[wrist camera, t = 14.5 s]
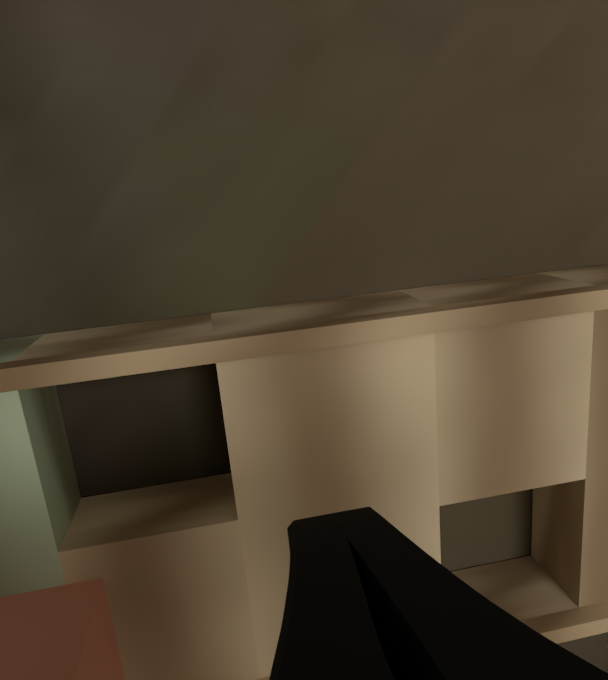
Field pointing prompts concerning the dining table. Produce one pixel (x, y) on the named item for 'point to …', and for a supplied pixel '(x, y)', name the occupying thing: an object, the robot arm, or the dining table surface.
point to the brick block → (59, 634)
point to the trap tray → (323, 458)
